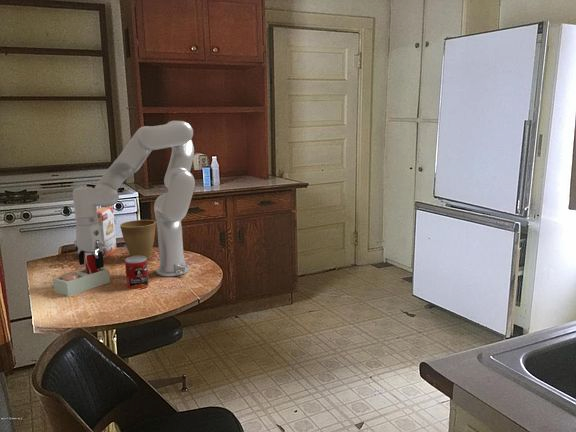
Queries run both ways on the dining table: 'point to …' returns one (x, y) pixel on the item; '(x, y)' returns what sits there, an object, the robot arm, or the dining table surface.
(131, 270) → the canned food
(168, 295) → the dining table surface
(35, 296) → the dining table surface
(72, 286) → the caddy
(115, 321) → the dining table surface
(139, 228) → the plant pot
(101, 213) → the cracker box
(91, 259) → the soda can
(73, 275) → the brown egg
